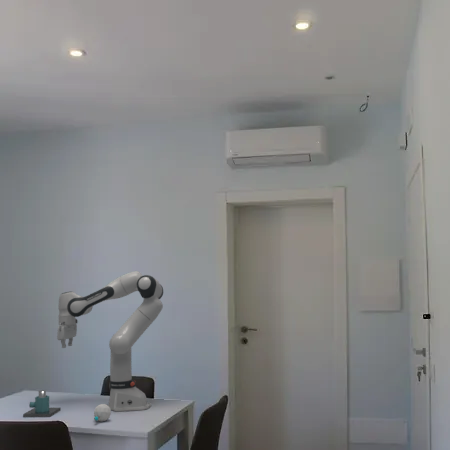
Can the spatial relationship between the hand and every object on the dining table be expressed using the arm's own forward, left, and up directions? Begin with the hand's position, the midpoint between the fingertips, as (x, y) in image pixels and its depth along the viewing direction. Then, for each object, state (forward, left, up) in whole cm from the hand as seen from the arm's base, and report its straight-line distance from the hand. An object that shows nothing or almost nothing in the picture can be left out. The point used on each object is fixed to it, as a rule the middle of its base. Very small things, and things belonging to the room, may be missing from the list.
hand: (67, 346), depth 323 cm
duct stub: (+6, +20, -31) cm, 37 cm away
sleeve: (+8, +20, -30) cm, 36 cm away
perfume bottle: (-30, +38, -31) cm, 58 cm away
